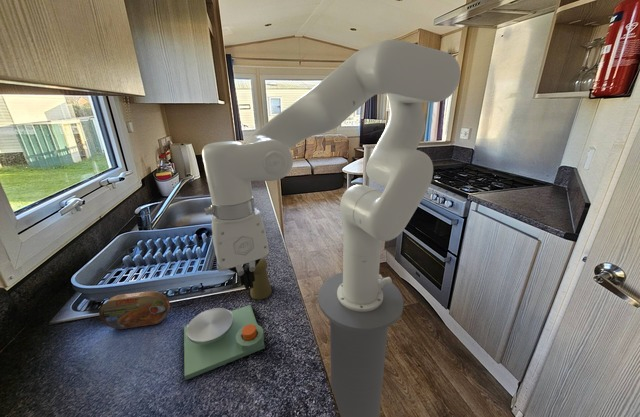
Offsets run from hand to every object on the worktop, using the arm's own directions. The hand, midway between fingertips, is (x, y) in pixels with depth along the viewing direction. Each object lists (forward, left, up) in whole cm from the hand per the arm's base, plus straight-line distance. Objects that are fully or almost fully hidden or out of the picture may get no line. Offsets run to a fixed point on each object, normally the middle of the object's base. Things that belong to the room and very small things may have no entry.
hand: (248, 285), depth 57 cm
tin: (+25, -17, -14) cm, 33 cm away
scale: (+7, -2, -14) cm, 16 cm away
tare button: (+2, +3, -11) cm, 12 cm away
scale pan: (+9, -4, -11) cm, 15 cm away
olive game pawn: (-5, -14, -14) cm, 20 cm away
